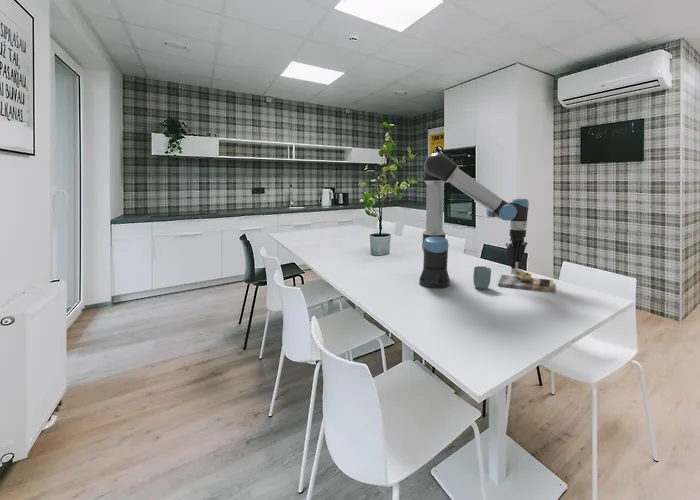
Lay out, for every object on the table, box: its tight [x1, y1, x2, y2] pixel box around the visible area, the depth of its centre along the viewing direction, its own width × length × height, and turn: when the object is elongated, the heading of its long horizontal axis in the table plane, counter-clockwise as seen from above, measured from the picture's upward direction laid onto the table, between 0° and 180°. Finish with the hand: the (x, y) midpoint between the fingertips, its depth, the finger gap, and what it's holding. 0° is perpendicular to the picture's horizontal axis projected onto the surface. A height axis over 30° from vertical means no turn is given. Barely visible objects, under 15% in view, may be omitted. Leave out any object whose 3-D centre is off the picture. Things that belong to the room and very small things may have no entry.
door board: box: [497, 274, 556, 294], centre depth 173 cm, size 24×18×5 cm
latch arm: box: [514, 269, 532, 282], centre depth 177 cm, size 14×4×4 cm, turn 175°
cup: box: [473, 265, 492, 290], centre depth 168 cm, size 8×8×10 cm
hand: (514, 274), depth 181 cm, fingers closed
